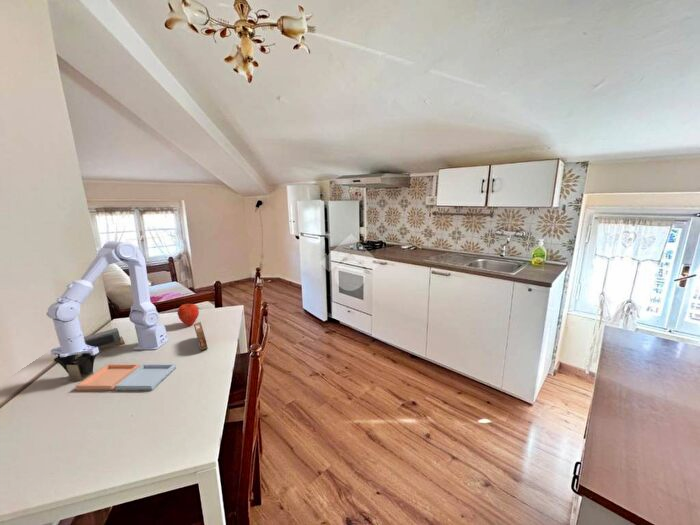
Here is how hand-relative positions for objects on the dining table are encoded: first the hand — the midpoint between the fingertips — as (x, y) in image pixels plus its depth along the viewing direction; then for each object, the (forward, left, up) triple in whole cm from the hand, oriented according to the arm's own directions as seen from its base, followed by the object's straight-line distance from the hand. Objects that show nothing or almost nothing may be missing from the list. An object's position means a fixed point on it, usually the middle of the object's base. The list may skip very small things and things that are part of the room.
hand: (81, 372), depth 94 cm
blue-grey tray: (-24, +1, -2) cm, 24 cm away
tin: (-30, -21, -2) cm, 37 cm away
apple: (-14, -39, -2) cm, 41 cm away
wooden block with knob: (0, 0, -2) cm, 2 cm away
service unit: (+11, -19, -2) cm, 22 cm away
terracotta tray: (-11, +1, -2) cm, 11 cm away
